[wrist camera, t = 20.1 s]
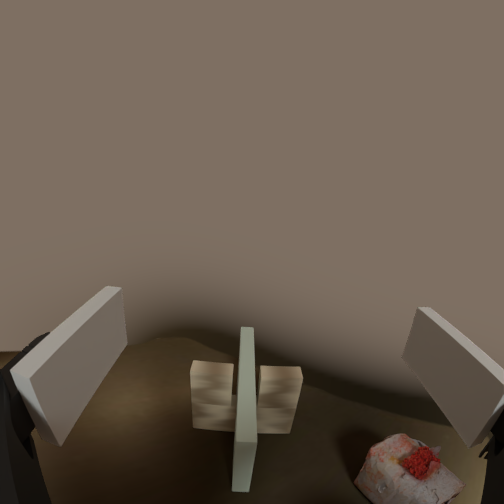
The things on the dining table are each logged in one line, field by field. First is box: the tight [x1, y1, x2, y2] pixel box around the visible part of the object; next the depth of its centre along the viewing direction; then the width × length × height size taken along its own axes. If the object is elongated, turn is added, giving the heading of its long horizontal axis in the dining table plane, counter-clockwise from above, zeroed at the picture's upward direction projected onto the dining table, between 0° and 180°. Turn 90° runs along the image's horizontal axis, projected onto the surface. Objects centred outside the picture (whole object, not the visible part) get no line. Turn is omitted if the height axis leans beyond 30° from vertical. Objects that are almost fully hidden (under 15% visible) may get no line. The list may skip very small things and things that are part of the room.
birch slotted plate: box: [190, 360, 303, 433], centre depth 36 cm, size 14×2×11 cm, turn 90°
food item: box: [354, 434, 466, 504], centre depth 21 cm, size 14×8×10 cm, turn 23°
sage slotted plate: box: [232, 327, 257, 492], centre depth 36 cm, size 24×2×11 cm, turn 1°
